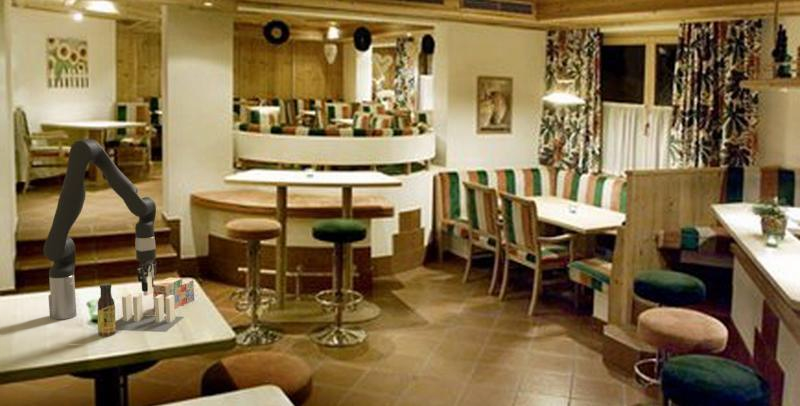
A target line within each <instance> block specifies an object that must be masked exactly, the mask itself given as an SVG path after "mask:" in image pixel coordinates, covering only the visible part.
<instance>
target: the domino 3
mask: <svg viewBox="0 0 800 406" xmlns="http://www.w3.org/2000/svg"><path fill="white" fill-rule="evenodd" d="M151 272H152V271H151ZM151 272H149V276H148V280H147V282H148V291H146V292H144V291H142V292H143V296H149V295H150V294H153V288H152V275H151ZM144 274H147V272H146V273H144Z"/></svg>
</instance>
